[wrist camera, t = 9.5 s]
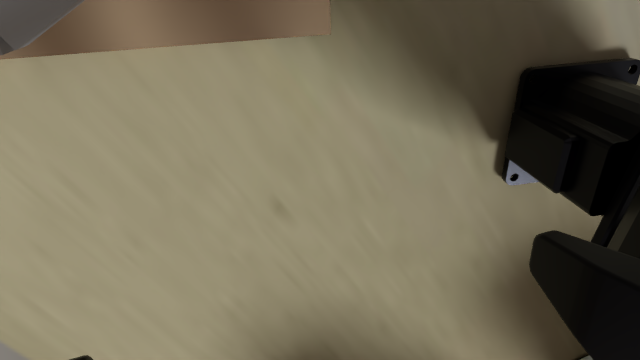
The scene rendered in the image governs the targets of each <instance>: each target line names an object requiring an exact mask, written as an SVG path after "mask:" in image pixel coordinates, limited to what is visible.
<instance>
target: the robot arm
mask: <svg viewBox="0 0 640 360" xmlns="http://www.w3.org/2000/svg"><path fill="white" fill-rule="evenodd" d="M630 67H631V68H630ZM629 68H630V70H629ZM628 70H629V71H628ZM532 75H534V78H533V80H532V81H530V82H529V79H530V77H531V76H532ZM639 75H640V60H637V59H633V58H624V59H613V60H603V61H592V62H581V63H570V64H559V65H549V66H538V67H530V68H527V69H526V70H524V71H523V73H522V74H521V77H520V81H519V86H518V92H517V97H516V103H515V108H514V112H513V114H512V120H511V125H510V130H509V136H508V141H507V147H506V152H505V156H506V157H505V162H504V168H503V173H502V179H503V181H505V182H506V183H507V184H509V185H519V184H526V183H534V182H540V183H542V184H543V185H544V186H546V187H547V188H548V189H550V190H551V191H552V192H554V193H560V194H561V195H563V196H564V197H566V198H567V199H568V200H570V201H571V202H572V203H574V204H575V205H577V206H578V207H579V208H581V209H582V210H584V211H585V212H586V213H588V214H589V215H590V216H598V215H601V216H603V218H602V220H601V222H600V224H599V226H598V228H597V230H596V232H595V234H594V236H593V238H592V240H591V242H589V241H586V240H583V239H580V238H577V237H574V236H571V235H568V234H565V233H562V232H559V231H549V232H545V233H541V234H538V235H536V237H535V238H534V241H533V246H532V251H531V257H530V262H529V266H530V271H531V273H532V275H533V277H534V278H535V280H536V281H537V283H538V284H539V286H540V287H541V289H542V290H543V291H544V293H545V294H546V296H547V297H548V299H549V300H550V302H551V303H552V305H553V306H554V308H555V309H556V311H557V312H558V314H559V315H560V317H561V318H562V320H563V321H564V322H565V324H566V325H567V327H568V328H569V330H570V331H571V332H572V334H573V335H574V337H575V338H576V339H577V340H578V342H579V343H580V344H581V345H582V347H583V348H584V349H585V350H586V352H587V353H588V354H589V355H590V357H591V358H592V359H593V360H640V86H638V85H636V84H637V81H638V78H639ZM513 174H514V176H513V177H512V178H510V177H511V175H513ZM70 360H93V359H92V358H91V357H90V356H88V355H86V356H81V357H77V358H73V359H70Z"/></svg>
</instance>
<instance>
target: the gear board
mask: <svg viewBox="0 0 640 360" xmlns="http://www.w3.org/2000/svg"><path fill="white" fill-rule="evenodd" d="M326 34H331V21H330V0H0V59H12V58H25V57H38V56H51V55H64V54H77V53H90V52H103V51H116V50H129V49H143V48H156V47H169V46H182V45H195V44H208V43H221V42H234V41H247V40H260V39H273V38H286V37H300V36H313V35H326Z"/></svg>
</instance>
